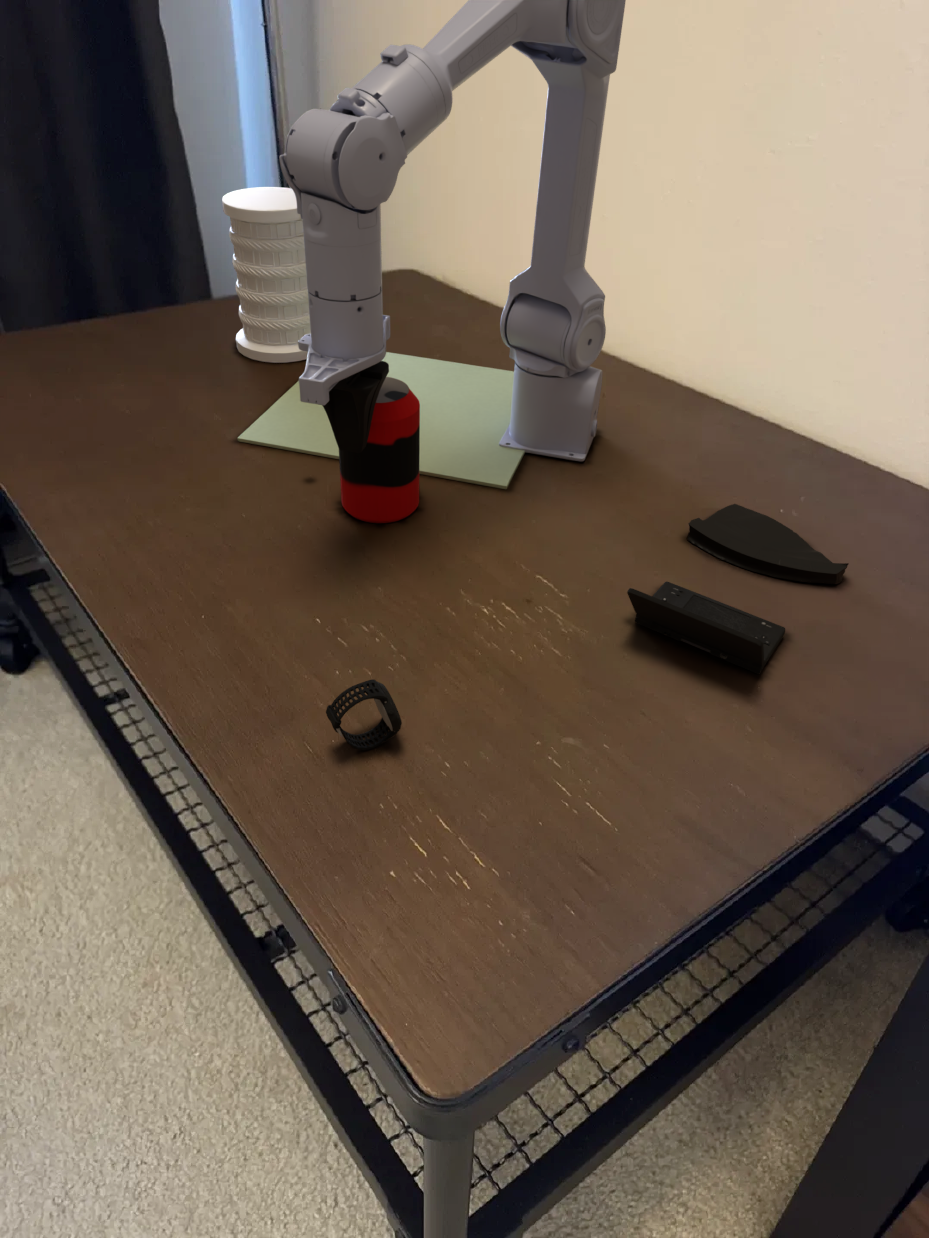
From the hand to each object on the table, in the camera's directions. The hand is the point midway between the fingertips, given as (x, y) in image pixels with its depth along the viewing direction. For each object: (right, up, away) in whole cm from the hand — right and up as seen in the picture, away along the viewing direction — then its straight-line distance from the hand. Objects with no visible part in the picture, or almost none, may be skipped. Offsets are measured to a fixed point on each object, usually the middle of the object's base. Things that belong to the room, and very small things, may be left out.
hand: (352, 447), depth 78 cm
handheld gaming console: (+29, -17, -4) cm, 34 cm away
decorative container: (-14, +21, +41) cm, 48 cm away
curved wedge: (+37, -9, +7) cm, 39 cm away
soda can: (+1, -4, +11) cm, 12 cm away
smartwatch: (+3, -23, -14) cm, 27 cm away
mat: (+3, +10, +27) cm, 29 cm away
